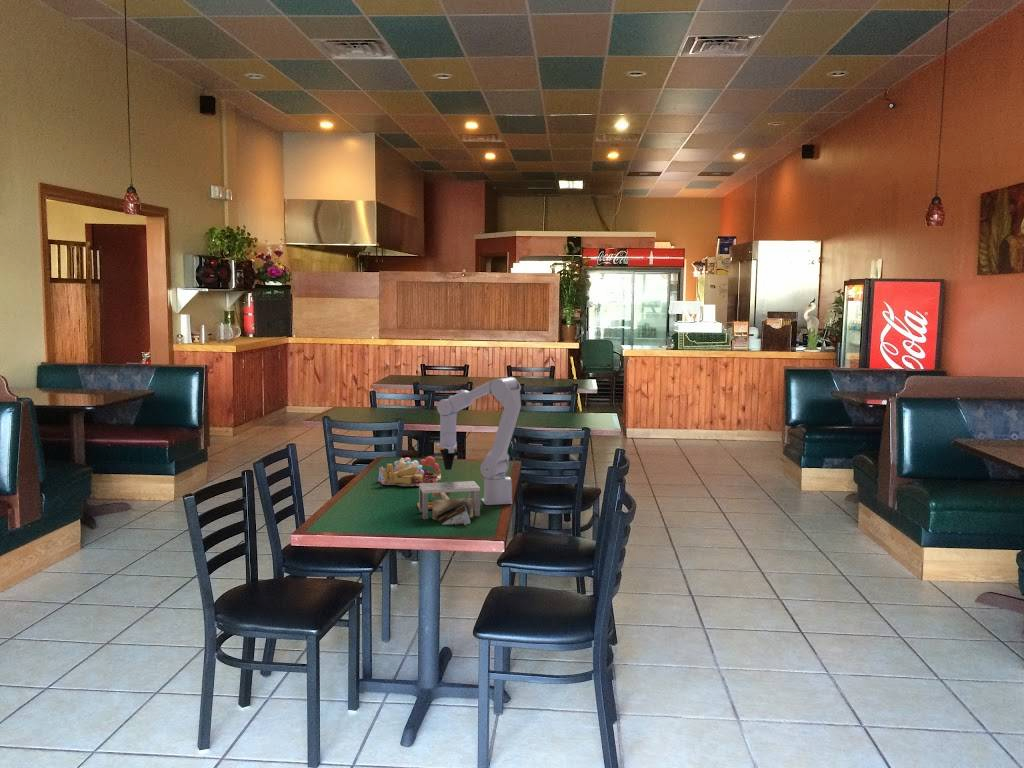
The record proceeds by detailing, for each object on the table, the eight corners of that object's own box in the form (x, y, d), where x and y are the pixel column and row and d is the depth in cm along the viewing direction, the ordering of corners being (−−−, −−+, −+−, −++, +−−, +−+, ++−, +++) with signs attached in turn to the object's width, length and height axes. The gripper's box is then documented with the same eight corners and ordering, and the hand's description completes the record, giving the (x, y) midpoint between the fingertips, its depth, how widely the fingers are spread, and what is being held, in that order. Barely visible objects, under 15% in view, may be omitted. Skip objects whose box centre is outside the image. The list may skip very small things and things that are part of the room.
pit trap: (469, 503, 282) (469, 500, 282) (472, 507, 276) (472, 504, 276) (417, 506, 277) (417, 502, 277) (419, 510, 272) (419, 506, 272)
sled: (459, 498, 286) (459, 482, 286) (473, 517, 262) (473, 498, 262) (422, 500, 283) (422, 483, 282) (433, 519, 259) (433, 500, 259)
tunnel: (473, 508, 275) (474, 481, 274) (480, 516, 265) (480, 487, 264) (419, 511, 271) (419, 483, 270) (423, 519, 261) (423, 490, 260)
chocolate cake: (434, 528, 253) (462, 503, 252) (431, 516, 259) (458, 491, 258) (455, 545, 257) (483, 520, 256) (451, 533, 263) (478, 508, 262)
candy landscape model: (435, 489, 304) (435, 464, 303) (373, 488, 305) (373, 464, 304) (443, 475, 329) (443, 452, 328) (385, 474, 330) (385, 451, 329)
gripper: (434, 429, 298) (434, 465, 299) (440, 435, 284) (440, 473, 285) (453, 428, 299) (453, 465, 301) (460, 435, 285) (460, 473, 287)
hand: (448, 469), depth 293 cm, fingers closed
